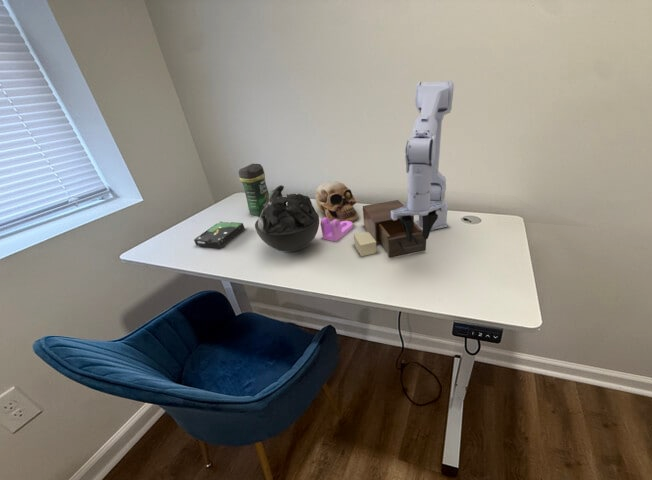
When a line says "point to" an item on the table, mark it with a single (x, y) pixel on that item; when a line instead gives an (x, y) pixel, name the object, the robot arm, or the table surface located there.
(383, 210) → the cabinet
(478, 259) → the table surface
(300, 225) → the bowl of black rocks
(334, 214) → the skull
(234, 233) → the disk drive
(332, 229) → the bracket
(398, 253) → the drawer
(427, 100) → the robot arm
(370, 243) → the beige rectangular block
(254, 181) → the coffee jar
